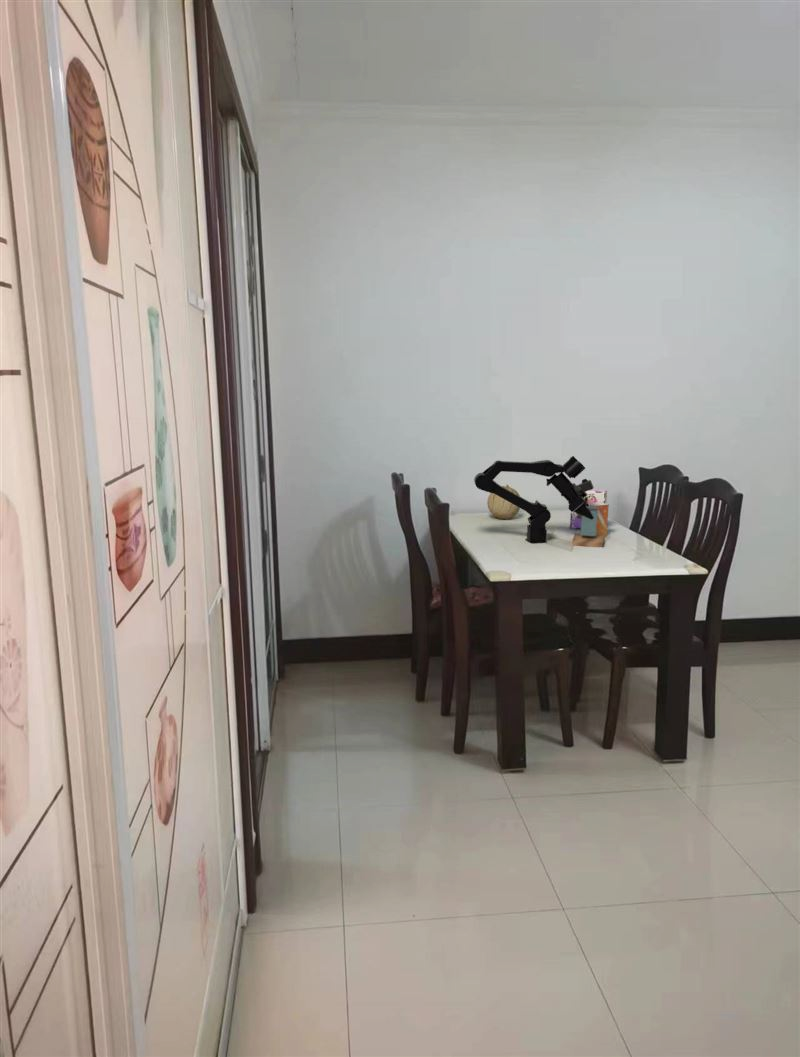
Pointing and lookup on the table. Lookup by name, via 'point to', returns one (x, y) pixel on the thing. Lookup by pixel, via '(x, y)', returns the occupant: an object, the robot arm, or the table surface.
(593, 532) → the tea tin
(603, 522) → the small box
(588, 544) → the walnut block
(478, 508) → the table surface
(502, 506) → the cantaloupe
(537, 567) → the table surface
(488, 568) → the table surface
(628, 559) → the table surface
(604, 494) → the candy box
